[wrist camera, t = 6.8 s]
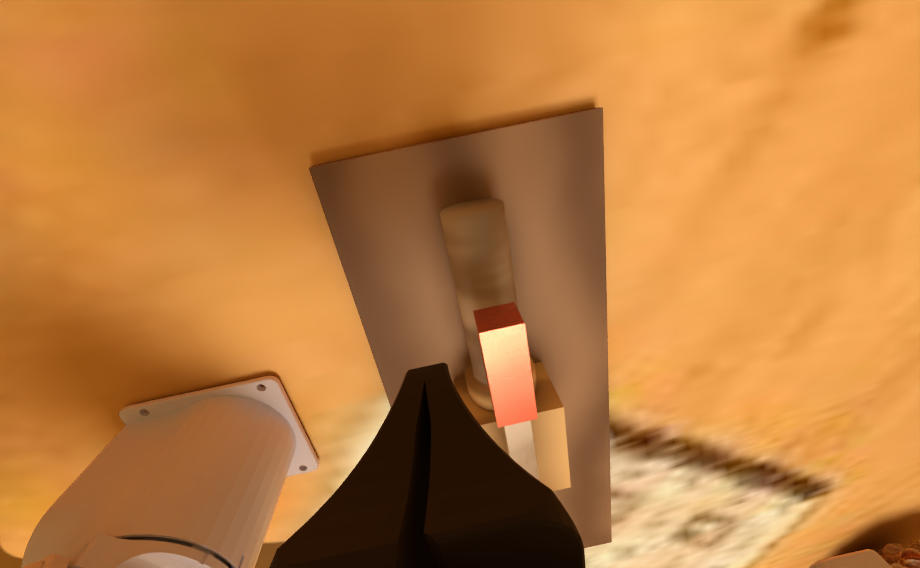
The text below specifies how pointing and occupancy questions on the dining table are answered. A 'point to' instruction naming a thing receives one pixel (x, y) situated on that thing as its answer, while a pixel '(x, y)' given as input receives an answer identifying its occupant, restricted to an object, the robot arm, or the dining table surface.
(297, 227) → the dining table surface
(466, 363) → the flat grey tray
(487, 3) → the dining table surface
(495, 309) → the valve lever
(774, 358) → the dining table surface
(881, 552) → the pine cone
